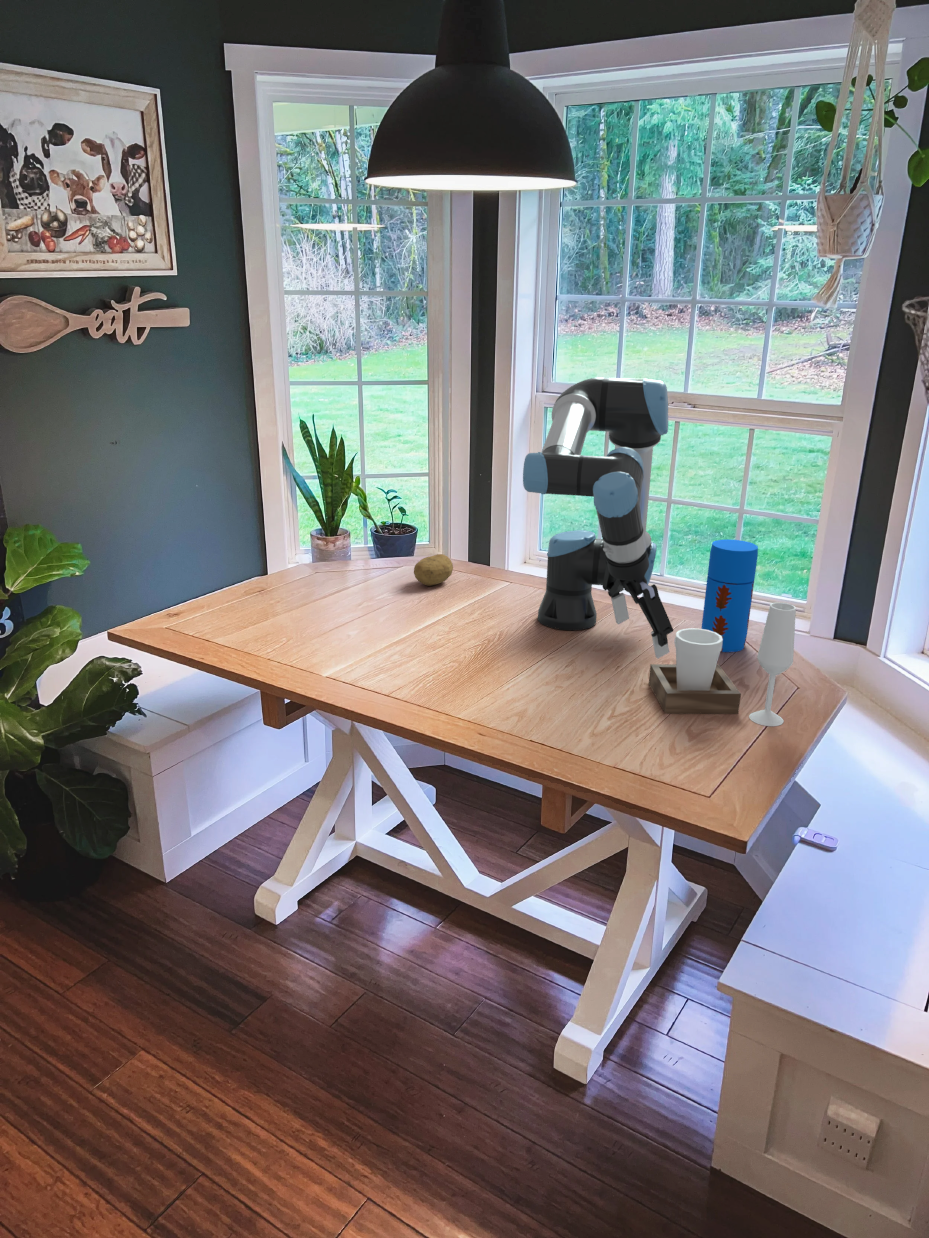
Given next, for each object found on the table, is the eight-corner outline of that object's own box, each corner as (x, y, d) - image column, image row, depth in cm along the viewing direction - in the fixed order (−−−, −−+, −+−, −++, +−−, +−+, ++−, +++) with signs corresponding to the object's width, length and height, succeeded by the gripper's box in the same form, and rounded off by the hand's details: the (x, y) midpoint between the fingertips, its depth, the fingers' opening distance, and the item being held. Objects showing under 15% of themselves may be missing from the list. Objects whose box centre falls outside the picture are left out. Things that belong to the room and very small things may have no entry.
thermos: (694, 646, 216) (706, 547, 208) (705, 633, 225) (716, 537, 217) (740, 655, 211) (754, 553, 203) (749, 641, 220) (762, 543, 212)
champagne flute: (745, 710, 183) (761, 599, 175) (779, 712, 183) (796, 601, 175) (752, 725, 177) (768, 611, 169) (787, 727, 177) (805, 613, 168)
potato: (404, 586, 256) (403, 560, 253) (433, 575, 267) (433, 549, 264) (431, 593, 251) (431, 566, 248) (460, 581, 262) (460, 555, 259)
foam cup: (665, 698, 186) (672, 640, 181) (673, 681, 194) (679, 625, 189) (712, 706, 183) (720, 647, 178) (718, 689, 191) (725, 632, 186)
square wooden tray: (648, 683, 195) (650, 664, 194) (716, 683, 196) (718, 664, 194) (665, 713, 181) (667, 693, 180) (738, 713, 182) (740, 693, 180)
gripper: (573, 533, 173) (592, 615, 186) (648, 592, 154) (664, 679, 167) (605, 516, 174) (622, 599, 187) (684, 572, 155) (696, 660, 168)
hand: (642, 637), depth 177 cm, fingers open, 13 cm apart
